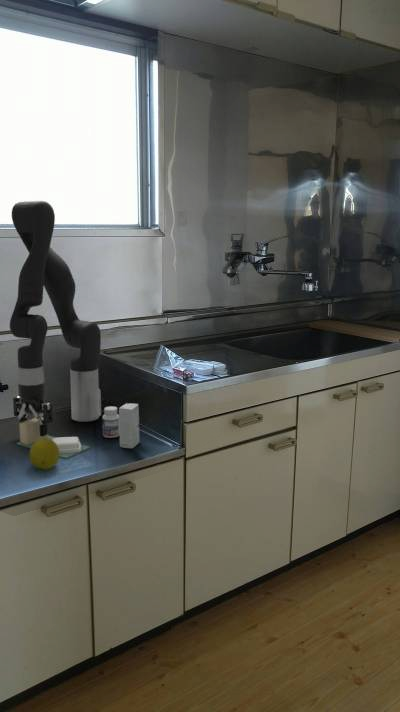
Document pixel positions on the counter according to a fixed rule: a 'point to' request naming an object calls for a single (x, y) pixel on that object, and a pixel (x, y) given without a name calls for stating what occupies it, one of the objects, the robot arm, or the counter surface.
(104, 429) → the pill bottle
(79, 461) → the counter surface
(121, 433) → the skincare box
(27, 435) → the pale green tray
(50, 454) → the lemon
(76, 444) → the soap
